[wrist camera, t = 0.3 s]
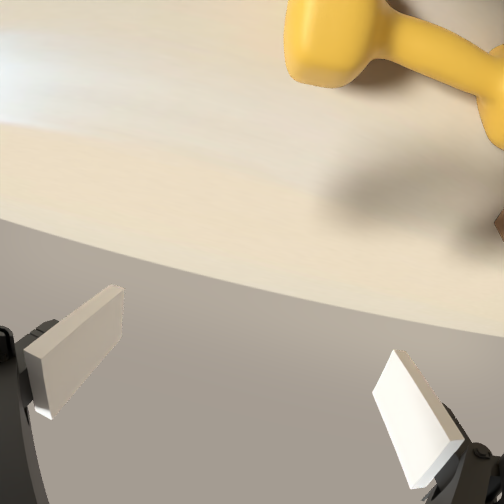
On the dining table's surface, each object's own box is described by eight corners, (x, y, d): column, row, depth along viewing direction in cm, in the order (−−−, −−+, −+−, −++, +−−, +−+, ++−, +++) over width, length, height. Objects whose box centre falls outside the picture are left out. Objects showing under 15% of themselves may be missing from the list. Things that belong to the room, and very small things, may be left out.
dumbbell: (527, 48, 13) (593, 84, 7) (495, 135, 19) (544, 192, 14) (298, -49, 13) (298, -75, 7) (279, 64, 19) (270, 98, 14)
